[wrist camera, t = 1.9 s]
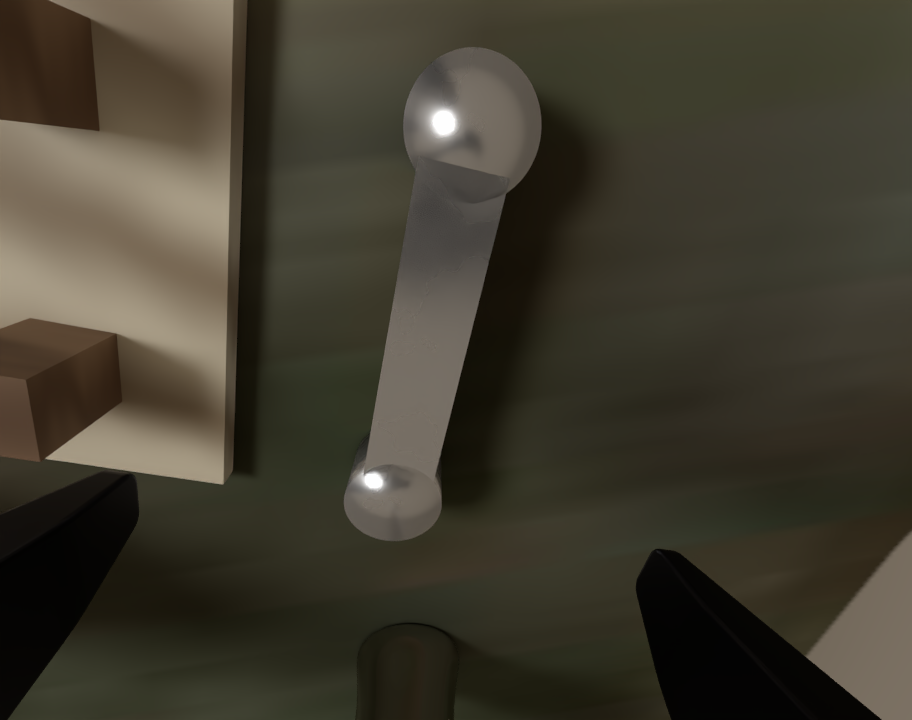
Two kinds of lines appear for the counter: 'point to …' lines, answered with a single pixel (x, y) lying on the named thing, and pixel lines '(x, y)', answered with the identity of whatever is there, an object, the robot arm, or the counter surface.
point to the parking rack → (121, 232)
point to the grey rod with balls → (440, 276)
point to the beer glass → (407, 674)
